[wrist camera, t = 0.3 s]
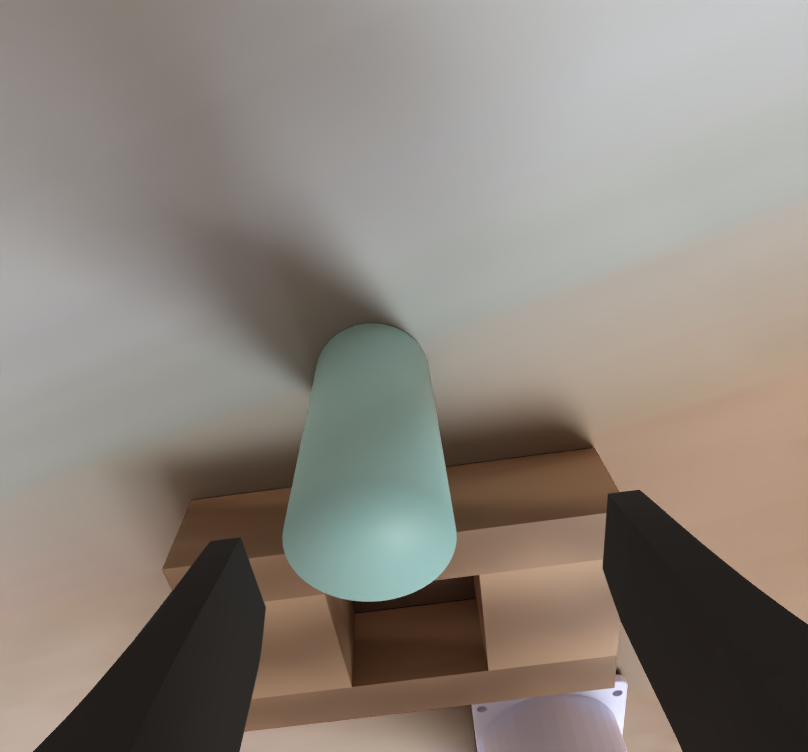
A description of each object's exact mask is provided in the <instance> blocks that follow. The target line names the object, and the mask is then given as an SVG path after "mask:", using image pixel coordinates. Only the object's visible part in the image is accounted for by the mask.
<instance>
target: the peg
mask: <svg viewBox="0 0 808 752" xmlns="http://www.w3.org/2000/svg"><path fill="white" fill-rule="evenodd" d="M282 541H283V548H284V553H285V555H286V558H287V560H288V562H289V564H290V565H291V567H292V568H293V570H294V571H295V572H296V573H297V574H298V576H300V577H301V578H302V579H303V580H304V581H305V582H307V583H308V584H309V585H311V586H312V587H314V588H316V589H318V590H320V591H321V592H324V593H326V594H329V595H331V596H334V597H338V598H341V599H346V600H352V601H362V602H374V601H385V600H391V599H395V598H399V597H403V596H406V595H408V594H411V593H414V592H416V591H418V590H420V589H422V588H423V587H425V586H427V585H428V584H430V583H431V582H432V581H433V580H435V579H436V578H437V577H438V576H439V575H440V574H441V573H442V572H443V571H444V570H445V568H446V567H447V566H448V564H449V562H450V560H451V559H452V557H453V554H454V551H455V548H456V541H457V535H456V526H455V520H454V514H453V508H452V502H451V496H450V491H449V485H448V479H447V473H446V467H445V461H444V455H443V449H442V443H441V437H440V431H439V425H438V419H437V413H436V407H435V401H434V395H433V389H432V383H431V377H430V372H429V366H428V361H427V358H426V355H425V353H424V351H423V350H422V348H421V347H420V345H419V344H418V343H417V342H416V341H415V340H414V339H413V338H412V337H411V336H410V335H408V334H407V333H405V332H404V331H402V330H400V329H398V328H396V327H393V326H389V325H386V324H379V323H366V324H359V325H355V326H352V327H349V328H347V329H345V330H343V331H341V332H339V333H338V334H336V335H335V336H334V337H333V338H332V339H330V340H329V342H328V343H327V344H326V345H325V347H324V348H323V350H322V351H321V353H320V356H319V358H318V362H317V366H316V371H315V376H314V381H313V386H312V391H311V395H310V400H309V405H308V410H307V415H306V420H305V425H304V430H303V435H302V440H301V444H300V449H299V454H298V459H297V464H296V469H295V474H294V479H293V484H292V489H291V493H290V498H289V503H288V508H287V513H286V518H285V523H284V528H283V535H282Z"/></svg>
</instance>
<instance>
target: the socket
mask: <svg viewBox="0 0 808 752" xmlns="http://www.w3.org/2000/svg"><path fill="white" fill-rule="evenodd" d="M446 473H447V479H448V485H449V491H450V496H451V502H452V508H453V514H454V520H455V526H456V535H457V541H456V548H455V551H454V554H453V557H452V559H451V560H450V562H449V564H448V566H447V567H446V568H445V570H444V571H443V572H442V573H441V574H440V575H439V576H438V577H437V578H436V579H435V580H443V579H451V578H459V577H467V576H473V579H474V589H475V599H470V600H462V601H454V602H446V603H438V604H430V605H422V606H414V607H406V608H398V609H389V610H381V611H373V612H365V613H357V614H355V612H354V608H353V604H352V600H346V599H341V598H338V597H334V596H331V595H329V594H326V593H324V592H321V591H320V590H318V589H316V588H314V587H312V586H311V585H309V584H308V583H307V582H305V581H304V580H303V579H302V578H301V577H300V576H298V574H297V573H296V572H295V571H294V570H293V568H292V567H291V565H290V564H289V562H288V560H287V558H286V555H285V553H284V548H283V541H282V535H283V528H284V523H285V518H286V513H287V508H288V503H289V498H290V493H291V489H292V487H290V488H283V489H275V490H267V491H260V492H252V493H244V494H237V495H229V496H221V497H214V498H206V499H198V500H192V501H191V503H190V505H189V508H188V510H187V512H186V515H185V517H184V519H183V522H182V524H181V526H180V529H179V531H178V533H177V536H176V538H175V540H174V543H173V545H172V548H171V550H170V552H169V555H168V557H167V559H166V562H165V564H164V566H163V569H162V570H163V573H164V575H165V577H166V579H167V581H168V583H169V585H170V587H171V589H172V591H173V589H174V588H175V587H176V585H177V584H178V583H179V581H180V580H181V579H182V577H183V576H184V575H185V573H186V572H187V571H188V569H189V568H190V567H191V565H192V564H193V563H194V561H195V560H196V559H197V557H198V556H199V555H200V554H201V552H202V551H203V550H204V548H205V547H206V546H207V545H208V543H209V542H210V541H214V540H223V539H231V538H240V537H241V539H242V542H243V545H244V548H245V550H246V553H247V556H248V559H249V562H250V564H251V567H252V570H253V573H254V576H255V578H256V581H257V584H258V587H259V590H260V592H261V595H262V598H263V601H264V604H265V606H266V611H265V621H264V631H263V641H262V649H261V657H260V663H259V668H258V672H257V677H256V681H255V686H254V690H253V695H252V699H251V703H250V708H249V712H248V716H247V721H246V725H245V729H244V732H246V731H254V730H263V729H271V728H279V727H288V726H296V725H305V724H313V723H322V722H330V721H339V720H347V719H355V718H364V717H372V716H381V715H389V714H398V713H406V712H415V711H423V710H431V709H440V708H448V707H457V706H465V705H474V704H482V703H491V702H499V701H507V700H516V699H524V698H533V697H541V696H550V695H558V694H567V693H575V692H583V691H592V690H600V689H609V688H615V676H616V664H617V653H618V641H619V629H620V618H619V615H618V612H617V610H616V607H615V604H614V601H613V598H612V596H611V593H610V590H609V587H608V584H607V581H606V578H605V575H604V572H603V569H602V567H603V554H604V540H605V526H606V512H607V498H608V494H609V493H618V492H619V490H618V489H617V487H616V485H615V483H614V481H613V480H612V478H611V476H610V474H609V473H608V471H607V469H606V467H605V466H604V464H603V462H602V460H601V458H600V457H599V455H598V453H597V451H596V450H595V448H589V449H581V450H573V451H566V452H558V453H550V454H543V455H535V456H527V457H520V458H512V459H504V460H497V461H489V462H481V463H474V464H466V465H459V466H451V467H446ZM435 580H433V581H435Z"/></svg>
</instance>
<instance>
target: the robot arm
mask: <svg viewBox="0 0 808 752" xmlns="http://www.w3.org/2000/svg"><path fill="white" fill-rule="evenodd" d="M602 569H603V572H604V575H605V578H606V581H607V584H608V587H609V590H610V593H611V596H612V598H613V601H614V604H615V607H616V610H617V612H618V615H619V618H620V620H621V623H622V625H623V627H624V629H625V631H626V633H627V635H628V637H629V640H630V642H631V644H632V646H633V648H634V650H635V652H636V654H637V656H638V659H639V661H640V663H641V665H642V667H643V669H644V671H645V673H646V675H647V677H648V679H649V681H650V683H651V686H652V688H653V690H654V692H655V694H656V696H657V698H658V700H659V702H660V704H661V706H662V708H663V710H664V712H665V715H666V717H667V719H668V721H669V723H670V725H671V727H672V729H673V731H674V733H675V735H676V737H677V740H678V742H679V744H680V746H681V749H682V751H683V752H808V624H806V623H805V622H804V621H802V620H801V619H799V618H798V617H796V616H795V615H794V614H792V613H791V612H789V611H788V610H787V609H785V608H784V607H783V606H781V605H780V604H779V603H777V602H776V601H774V600H773V599H772V598H770V597H769V596H768V595H766V594H765V593H764V592H762V591H761V590H760V589H758V588H757V587H756V586H754V585H753V584H752V583H751V582H749V581H748V580H747V579H745V578H744V577H743V576H742V575H740V574H739V573H738V572H737V571H735V570H734V569H733V568H732V567H730V566H729V565H728V564H727V563H725V562H724V561H723V560H722V559H720V558H719V557H718V556H717V555H715V554H714V553H713V552H712V551H711V550H709V549H708V548H707V547H706V546H705V545H703V544H702V543H701V542H700V541H699V540H697V539H696V538H695V537H694V536H693V535H691V534H690V533H689V532H688V531H687V530H686V529H684V528H683V527H682V526H681V525H680V524H679V523H677V522H676V521H675V520H674V519H673V518H672V517H671V516H669V515H668V514H667V513H666V512H665V511H664V510H662V509H661V508H660V507H659V506H658V505H657V504H656V503H654V502H653V501H652V500H651V499H650V498H649V497H647V496H646V495H645V494H644V493H643V492H641V491H640V490H634V491H626V492H618V493H609V494H608V498H607V512H606V526H605V540H604V554H603V567H602ZM265 611H266V606H265V604H264V601H263V598H262V595H261V592H260V590H259V587H258V584H257V581H256V578H255V576H254V573H253V570H252V567H251V564H250V562H249V559H248V556H247V553H246V550H245V548H244V545H243V542H242V539H241V537H240V538H231V539H223V540H214V541H210V542H209V543H208V545H207V546H206V547H205V548H204V550H203V551H202V552H201V554H200V555H199V556H198V557H197V559H196V560H195V561H194V563H193V564H192V565H191V567H190V568H189V569H188V571H187V572H186V573H185V575H184V576H183V577H182V579H181V580H180V581H179V583H178V584H177V585H176V587H175V588H174V589H173V591H172V592H171V593H170V595H169V596H168V597H167V599H166V600H165V601H164V602H163V604H162V605H161V606H160V608H159V609H158V610H157V611H156V613H155V614H154V615H153V617H152V618H151V619H150V620H149V622H148V623H147V624H146V625H145V627H144V628H143V629H142V630H141V632H140V633H139V634H138V636H137V637H136V638H135V639H134V641H133V642H132V643H131V644H130V645H129V647H128V648H127V649H126V650H125V651H124V653H123V654H122V655H121V656H120V657H119V658H118V660H117V661H116V662H115V663H114V664H113V666H112V667H111V668H110V669H109V670H108V671H107V673H106V674H105V675H104V676H103V677H102V678H101V680H100V681H99V682H98V683H97V684H96V685H95V687H94V688H93V689H92V690H91V691H90V692H89V693H88V695H87V696H86V697H85V698H84V699H83V700H82V701H81V702H80V703H79V704H78V706H77V707H76V708H75V709H74V710H73V711H72V712H71V713H70V714H69V715H68V716H67V717H66V719H65V720H64V721H63V722H62V723H61V724H60V725H59V726H58V727H57V728H56V729H55V730H54V731H53V732H52V733H51V734H50V735H49V736H48V737H47V738H46V739H45V740H44V741H43V742H42V743H41V744H40V745H39V746H38V747H37V748H36V749H35V750H34V751H33V752H239V751H240V747H241V742H242V738H243V734H244V729H245V725H246V721H247V716H248V712H249V708H250V703H251V699H252V695H253V690H254V686H255V681H256V677H257V672H258V668H259V663H260V657H261V649H262V641H263V631H264V621H265ZM627 686H628V685H627V682H626V680H625V677H623V676H622V675H616V676H615V688H609V689H600V690H592V691H583V692H575V693H567V694H558V695H550V696H541V697H533V698H524V699H516V700H507V701H499V702H491V703H482V704H474V705H471V706H472V714H473V722H474V730H475V738H476V746H477V752H628V751H627V748H626V745H625V742H624V740H623V737H622V734H623V724H624V715H625V705H626V695H627Z"/></svg>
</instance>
